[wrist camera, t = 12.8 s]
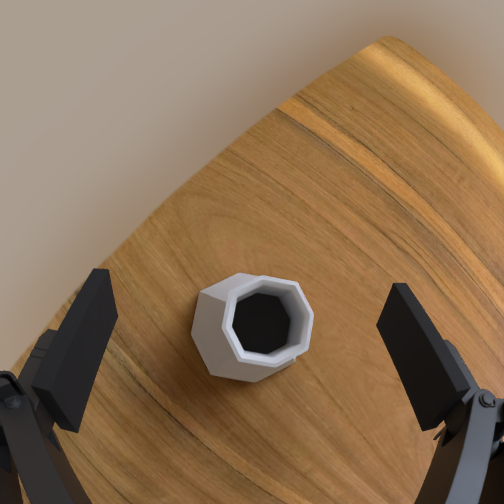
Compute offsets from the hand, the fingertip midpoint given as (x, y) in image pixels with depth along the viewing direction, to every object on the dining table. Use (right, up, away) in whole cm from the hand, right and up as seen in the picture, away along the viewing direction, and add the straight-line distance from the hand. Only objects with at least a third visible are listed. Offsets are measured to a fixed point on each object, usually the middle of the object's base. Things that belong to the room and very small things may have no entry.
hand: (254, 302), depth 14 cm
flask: (0, -3, +6) cm, 7 cm away
